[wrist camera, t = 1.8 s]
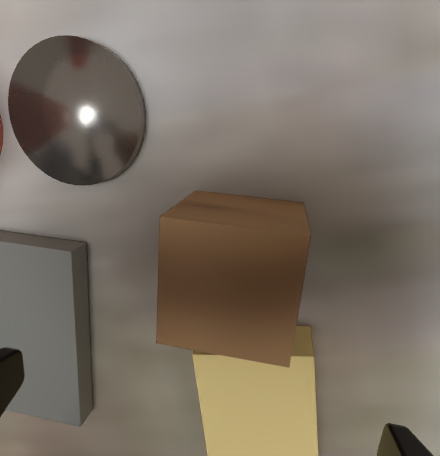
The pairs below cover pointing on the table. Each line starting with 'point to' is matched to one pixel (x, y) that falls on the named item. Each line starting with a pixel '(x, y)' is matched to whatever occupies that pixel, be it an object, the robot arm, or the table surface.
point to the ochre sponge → (259, 403)
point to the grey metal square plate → (47, 324)
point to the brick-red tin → (1, 134)
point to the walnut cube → (232, 275)
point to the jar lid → (76, 110)
